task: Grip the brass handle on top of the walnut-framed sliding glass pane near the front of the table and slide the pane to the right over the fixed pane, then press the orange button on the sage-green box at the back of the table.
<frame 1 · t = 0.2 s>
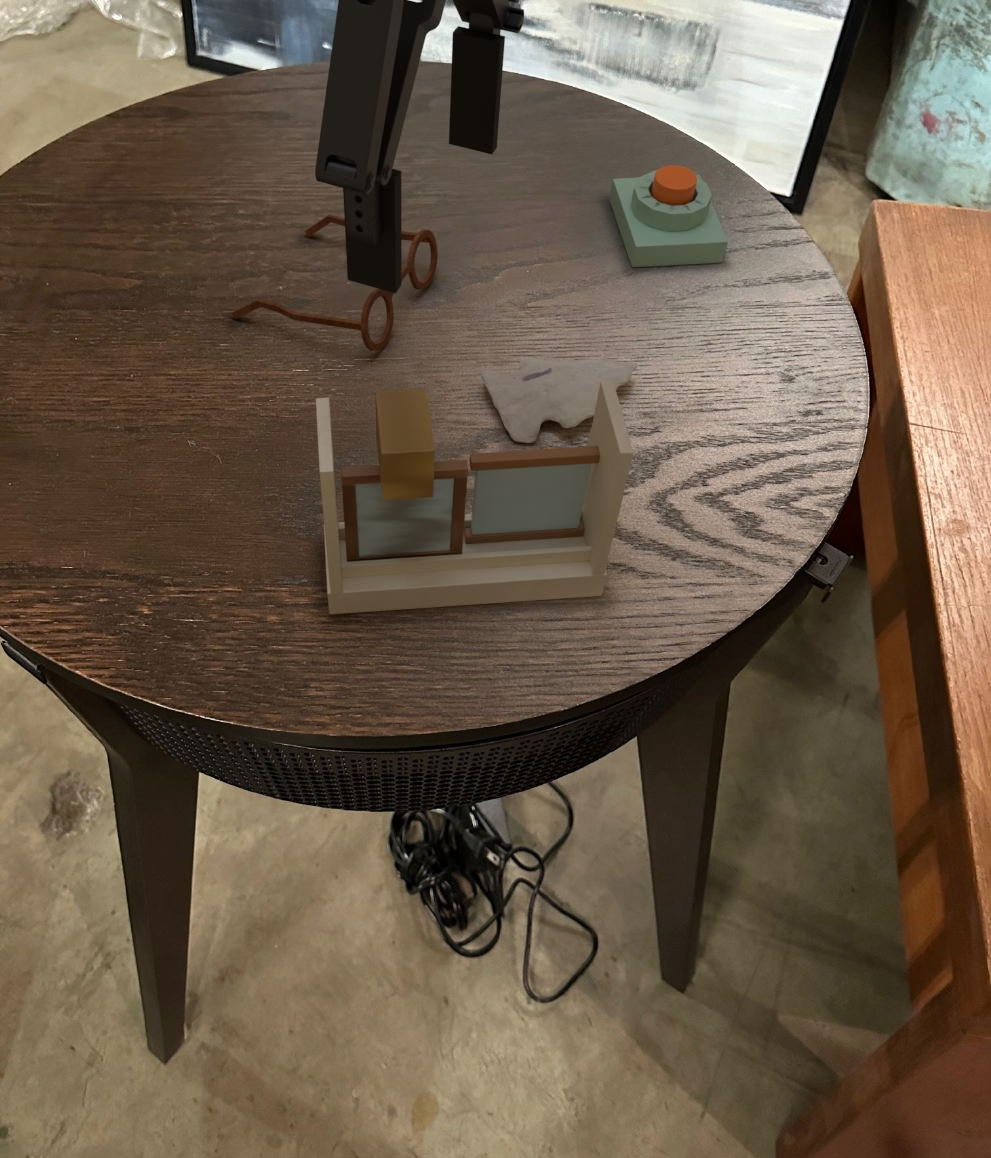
hand: (426, 210, 60), 24 cm above the table, tool pointing down, fingers open, 13 cm apart
button: (674, 185, 95), point 4 cm above the table, slide at 0.1 cm
decorative stone: (565, 400, 86), on the table
window frame: (461, 570, 76), on the table
glasses: (338, 296, 93), on the table
pane: (404, 493, 68), point 9 cm above the table, slide at 0.0 cm
button box: (664, 230, 99), on the table
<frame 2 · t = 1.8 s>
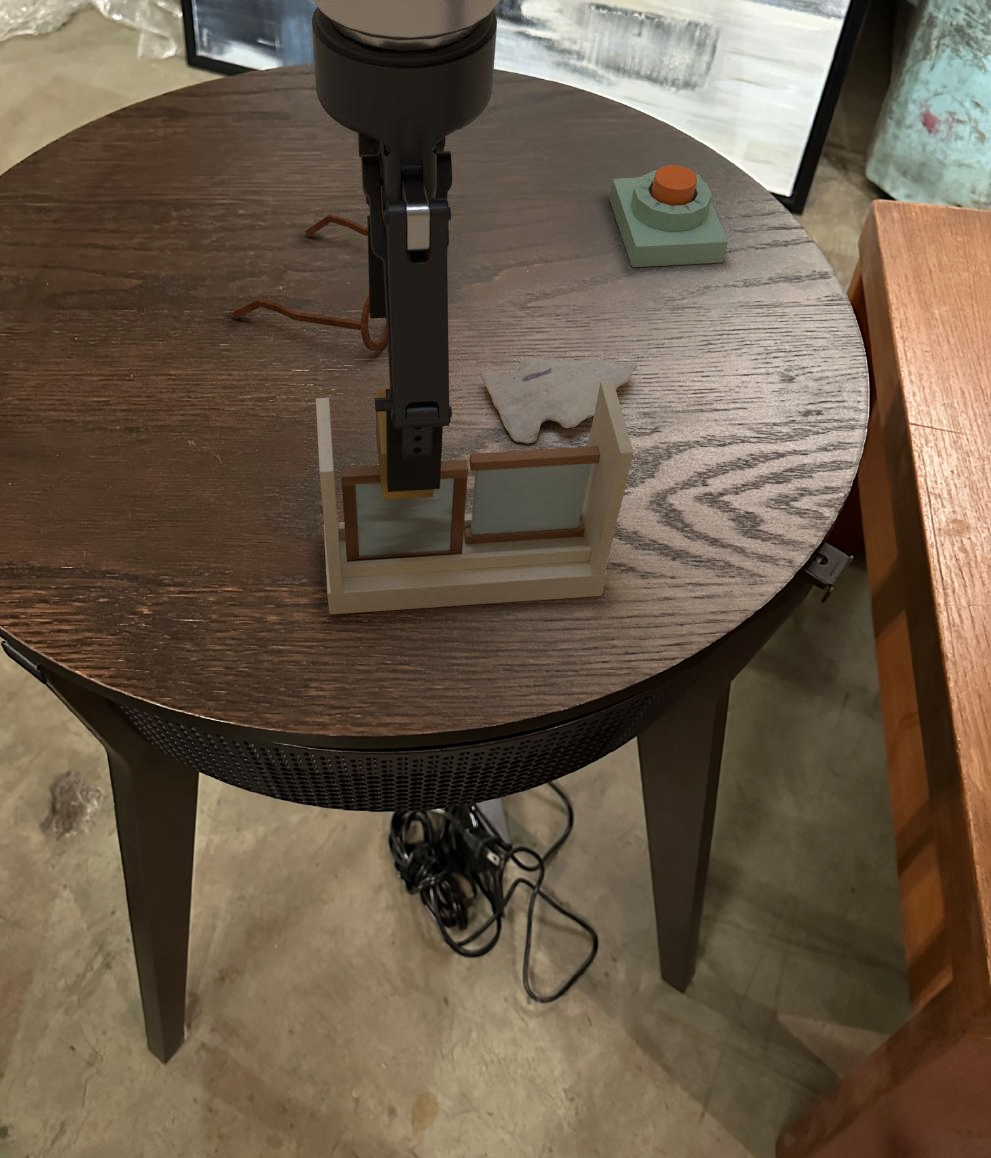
hand: (402, 394, 61), 17 cm above the table, tool pointing down, fingers open, 13 cm apart
nothing on the table moved.
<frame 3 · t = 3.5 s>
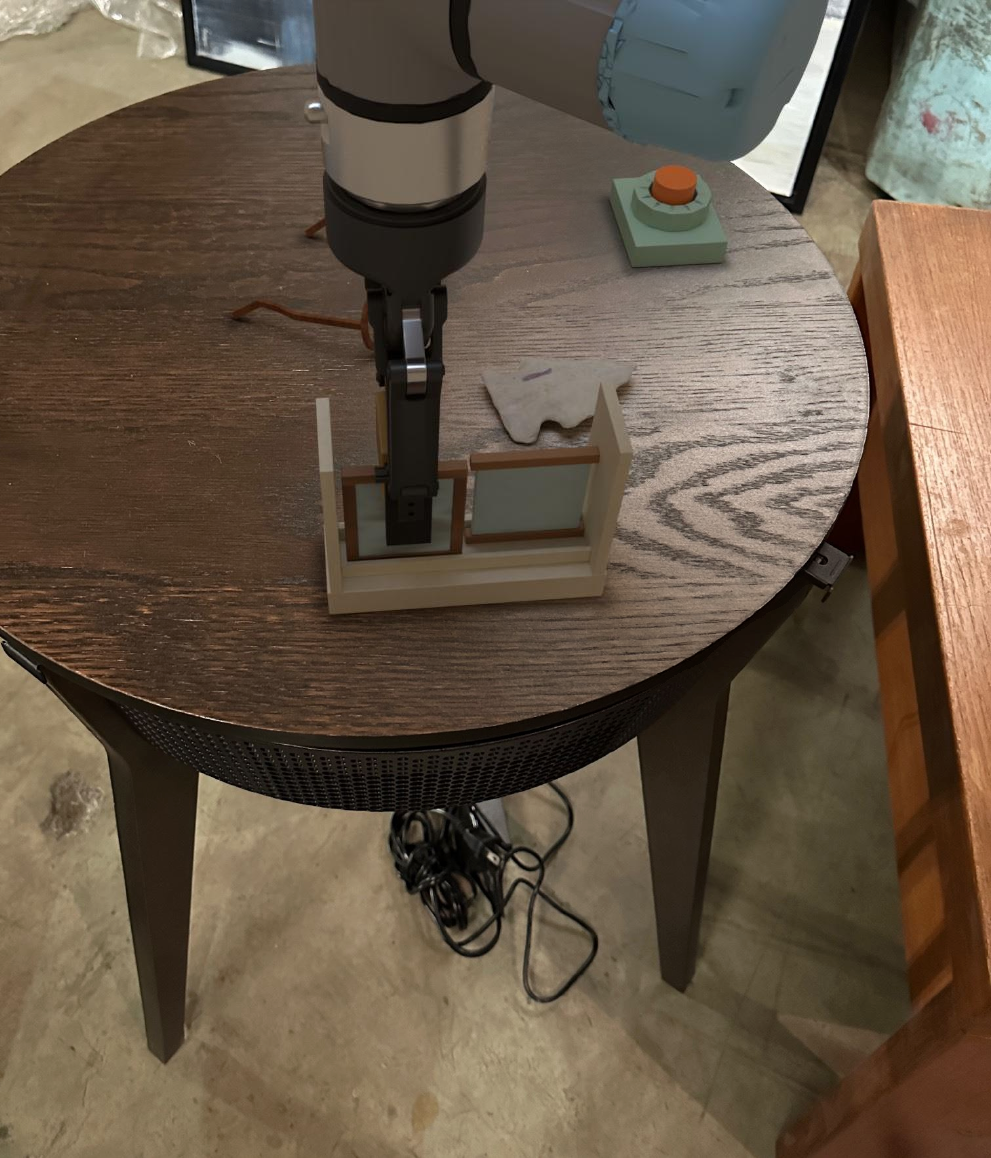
hand: (404, 503, 68), 8 cm above the table, tool pointing down, fingers closed on pane, 5 cm apart
pane: (404, 493, 68), point 9 cm above the table, slide at 0.0 cm, touching gripper
everything else where it was.
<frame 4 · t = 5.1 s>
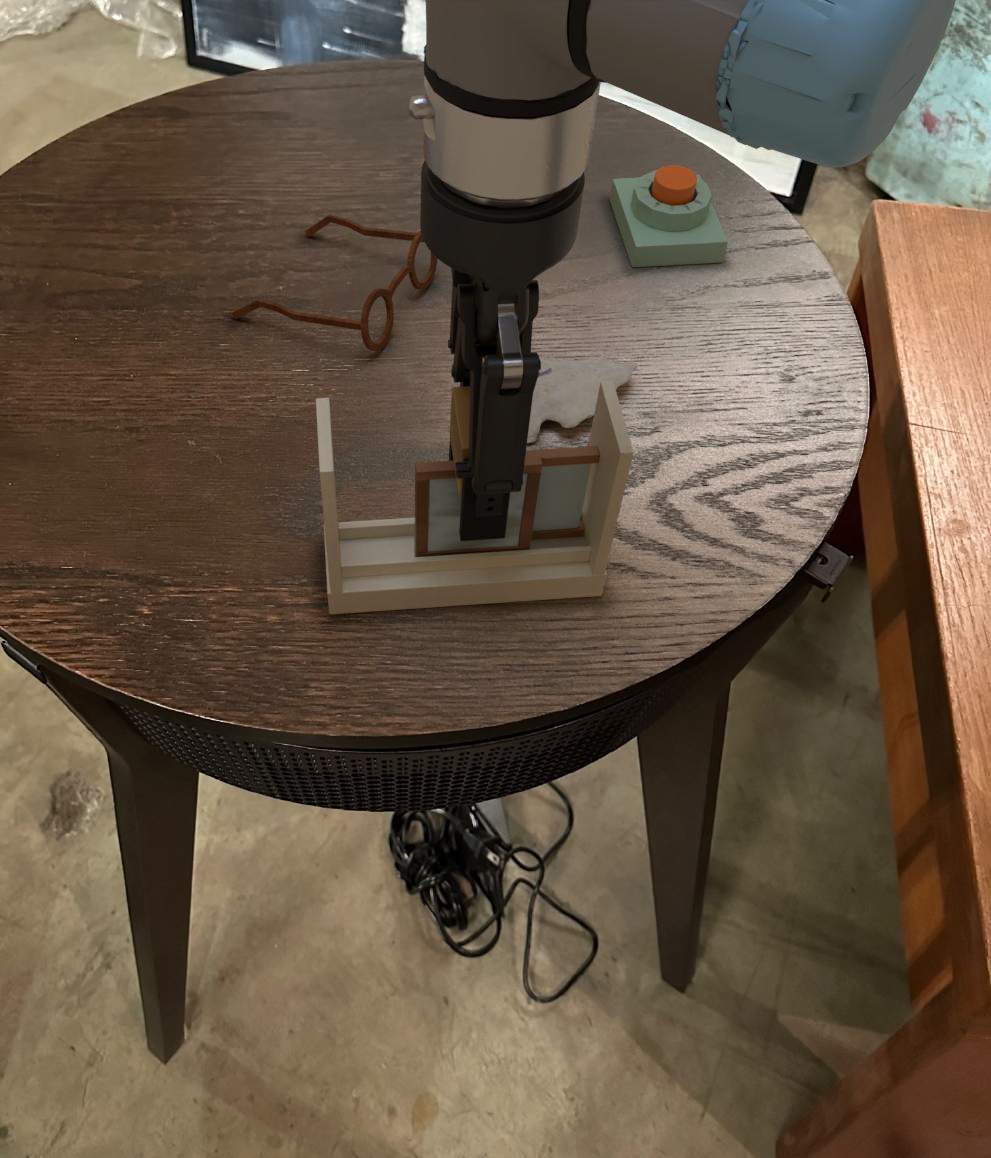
hand: (475, 498, 69), 8 cm above the table, tool pointing down, fingers closed on pane, 5 cm apart
pane: (476, 489, 68), point 9 cm above the table, slide at 4.5 cm, touching gripper
everything else where it was.
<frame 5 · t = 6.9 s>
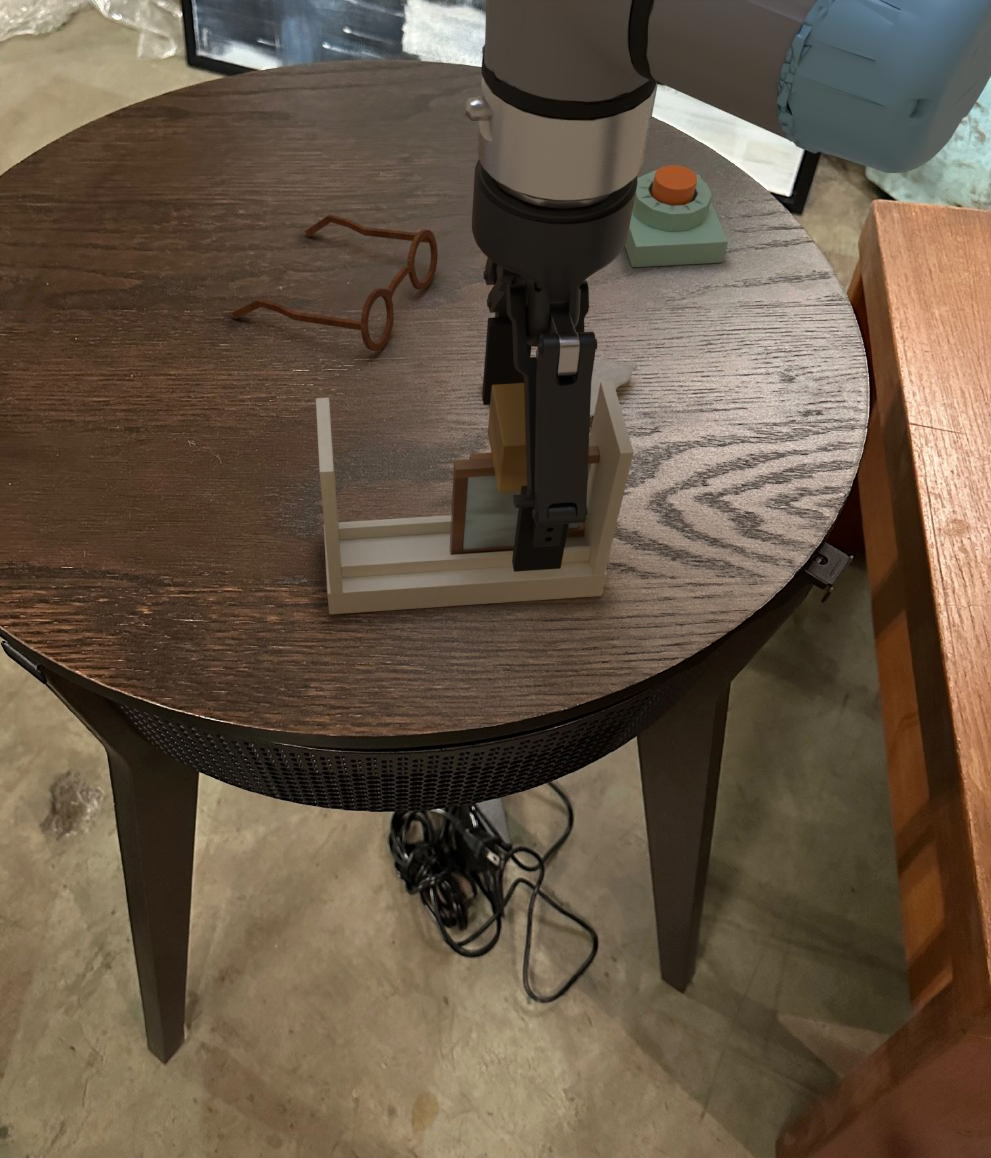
hand: (518, 477, 67), 10 cm above the table, tool pointing down, fingers open, 13 cm apart
pane: (514, 486, 68), point 9 cm above the table, slide at 6.8 cm
everything else where it was.
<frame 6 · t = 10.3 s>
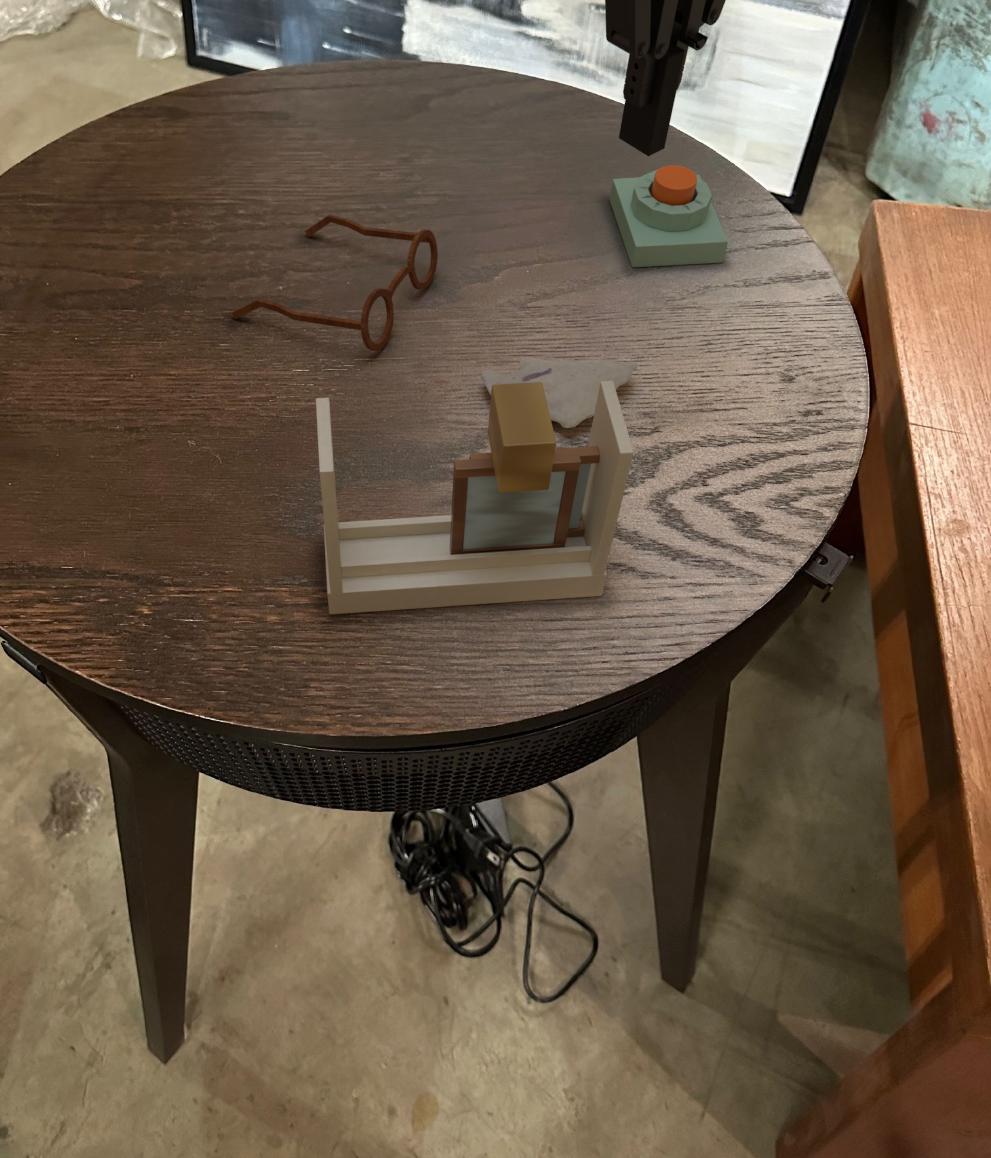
hand: (641, 142, 72), 20 cm above the table, tool pointing down, fingers closed
nothing on the table moved.
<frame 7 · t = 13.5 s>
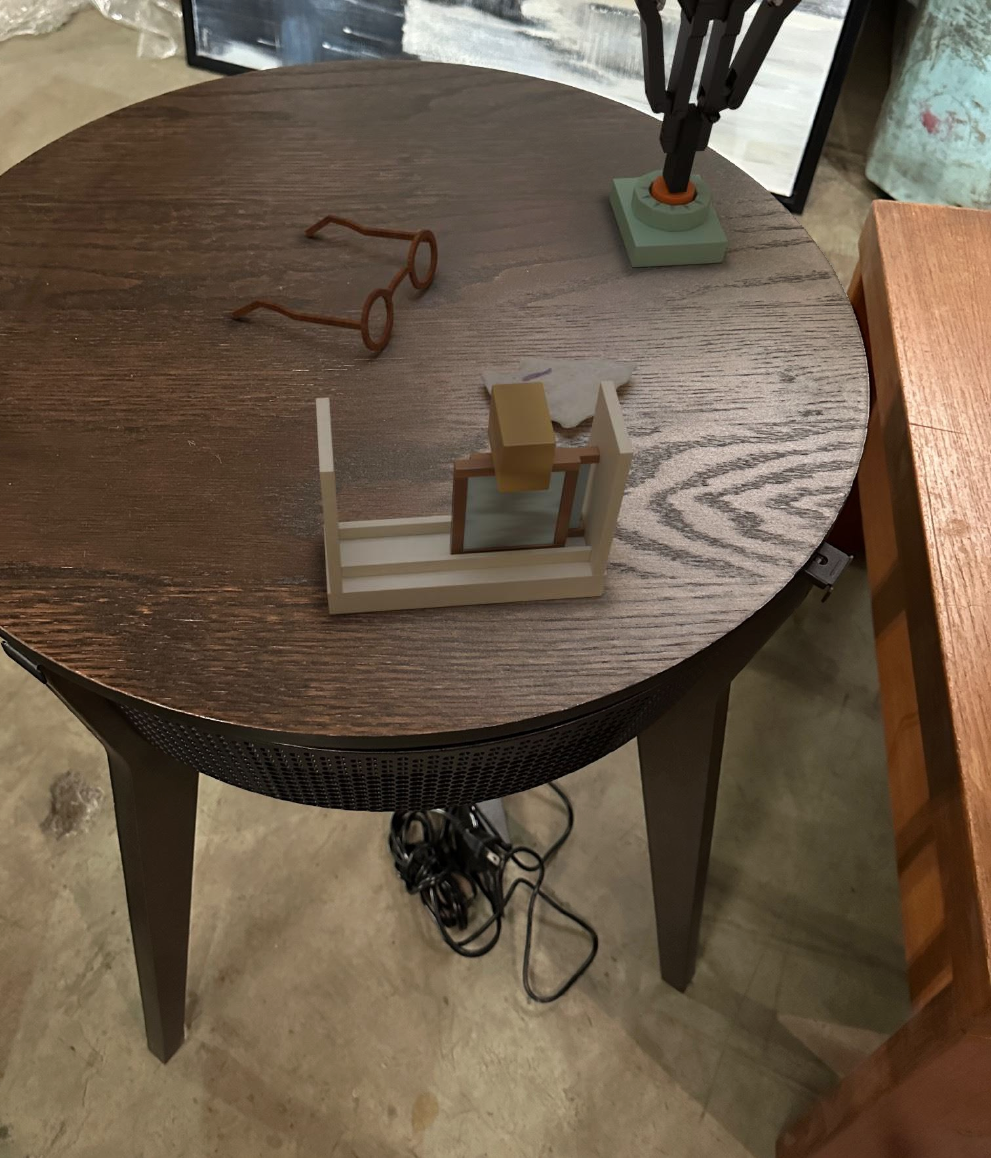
hand: (674, 182, 95), 5 cm above the table, tool pointing down, fingers closed
button: (672, 194, 96), point 4 cm above the table, slide at -0.8 cm, touching gripper
everything else where it was.
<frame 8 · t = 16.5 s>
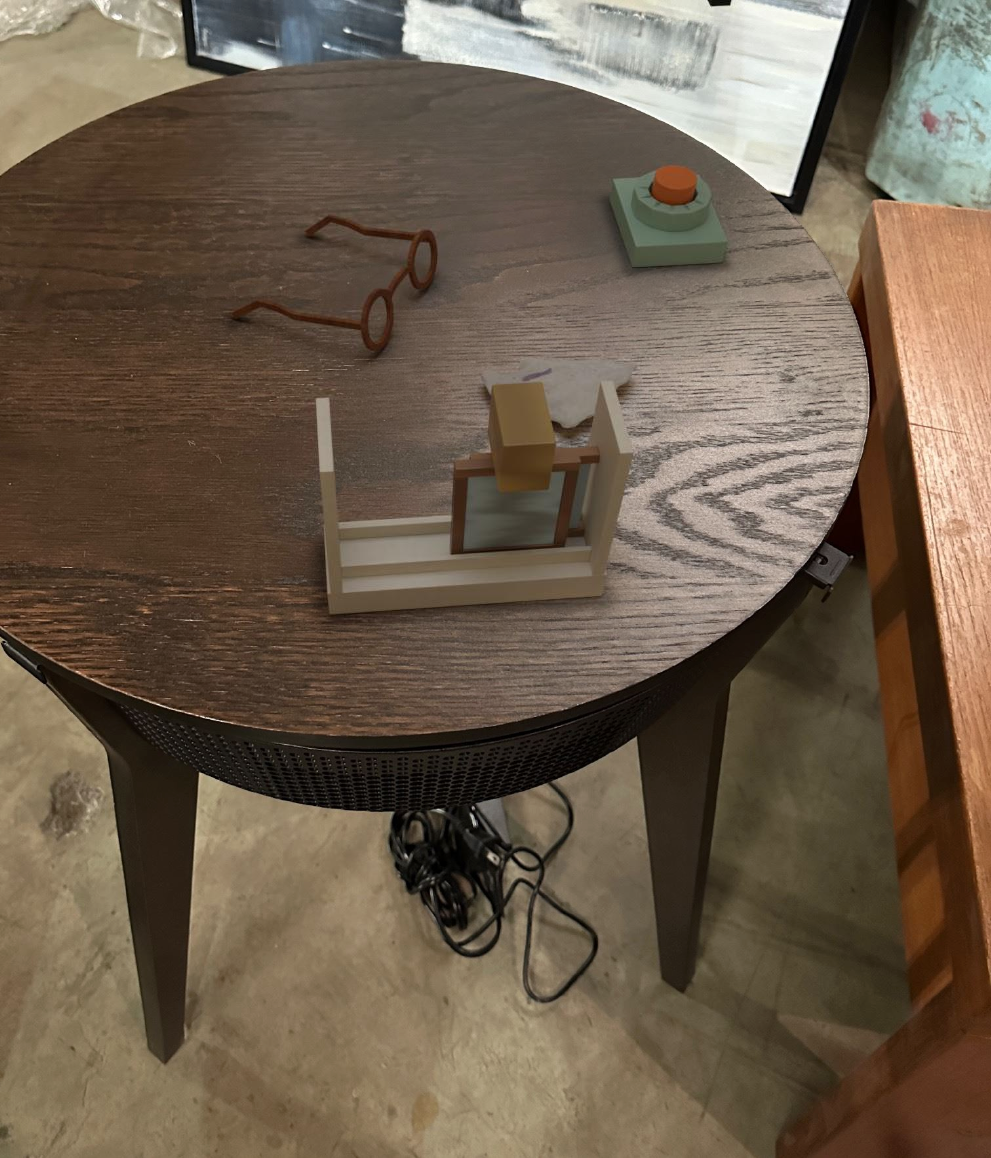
button: (674, 185, 95), point 4 cm above the table, slide at 0.1 cm
everything else where it was.
at the end: pane slide at 6.8 cm; button pushed in 1.0 cm at the most during the clip, back to where it started at the end; button slide at 0.1 cm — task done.
